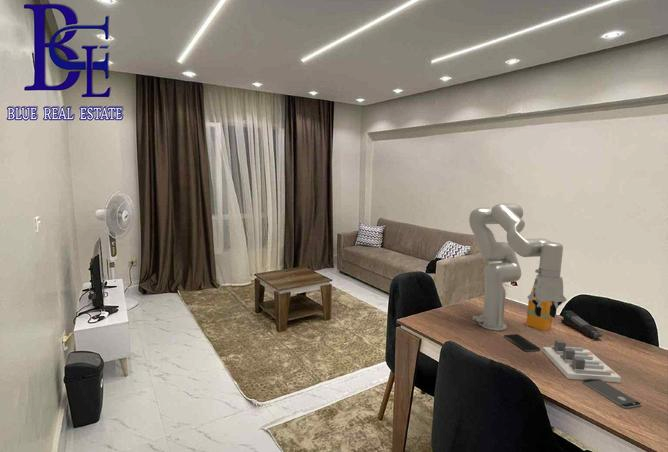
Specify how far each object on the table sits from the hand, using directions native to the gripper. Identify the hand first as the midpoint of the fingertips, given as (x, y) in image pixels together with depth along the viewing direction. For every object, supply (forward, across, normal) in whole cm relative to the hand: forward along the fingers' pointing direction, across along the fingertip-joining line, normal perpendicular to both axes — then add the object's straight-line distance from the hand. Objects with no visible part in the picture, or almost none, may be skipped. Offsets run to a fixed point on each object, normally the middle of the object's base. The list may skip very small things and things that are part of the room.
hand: (545, 315), depth 149 cm
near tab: (+15, +7, -14) cm, 22 cm away
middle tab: (+15, +7, -7) cm, 18 cm away
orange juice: (+18, +12, +31) cm, 38 cm away
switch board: (+17, +11, -7) cm, 22 cm away
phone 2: (+18, +12, -25) cm, 33 cm away
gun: (+18, +29, +28) cm, 44 cm away
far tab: (+15, +7, 0) cm, 17 cm away
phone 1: (+18, -4, +10) cm, 21 cm away
